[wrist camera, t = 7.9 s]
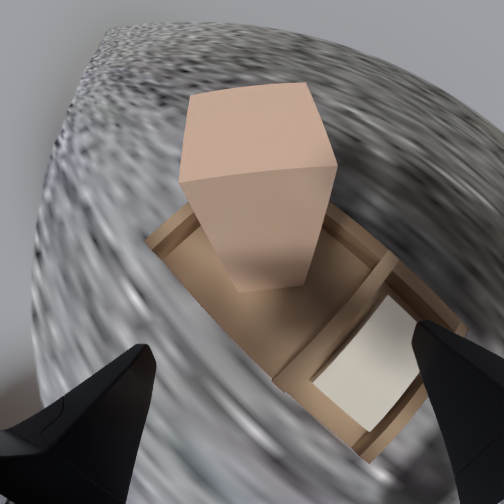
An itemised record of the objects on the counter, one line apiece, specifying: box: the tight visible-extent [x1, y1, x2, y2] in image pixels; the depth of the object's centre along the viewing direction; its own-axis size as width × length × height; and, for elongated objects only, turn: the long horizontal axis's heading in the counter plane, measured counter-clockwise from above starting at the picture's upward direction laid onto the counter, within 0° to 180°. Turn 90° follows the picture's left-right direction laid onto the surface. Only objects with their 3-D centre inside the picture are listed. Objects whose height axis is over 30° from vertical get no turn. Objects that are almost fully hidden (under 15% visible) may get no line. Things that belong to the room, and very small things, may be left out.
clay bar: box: [179, 83, 338, 292], centre depth 13 cm, size 4×4×12 cm
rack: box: [145, 201, 469, 464], centre depth 17 cm, size 11×21×3 cm, turn 44°
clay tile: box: [309, 295, 420, 432], centre depth 14 cm, size 7×5×2 cm
